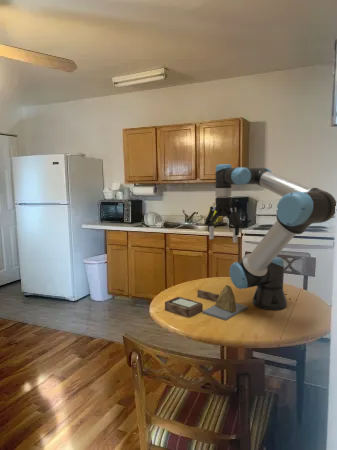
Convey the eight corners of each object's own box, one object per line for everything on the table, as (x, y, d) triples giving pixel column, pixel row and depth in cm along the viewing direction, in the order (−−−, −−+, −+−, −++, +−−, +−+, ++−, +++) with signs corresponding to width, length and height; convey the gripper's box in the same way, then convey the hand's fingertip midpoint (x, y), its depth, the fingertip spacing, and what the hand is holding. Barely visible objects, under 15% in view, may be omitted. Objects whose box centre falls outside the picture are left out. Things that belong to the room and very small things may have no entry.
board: (247, 308, 154) (247, 306, 154) (225, 320, 141) (225, 318, 140) (224, 302, 162) (224, 300, 162) (202, 313, 149) (202, 311, 148)
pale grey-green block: (198, 312, 151) (198, 303, 150) (189, 316, 146) (189, 307, 146) (180, 306, 157) (180, 298, 157) (171, 310, 153) (171, 301, 153)
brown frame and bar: (221, 302, 162) (221, 295, 161) (188, 318, 144) (188, 310, 143) (197, 295, 171) (197, 289, 171) (164, 309, 153) (163, 302, 153)
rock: (242, 307, 145) (238, 296, 155) (231, 293, 144) (227, 283, 153) (222, 321, 147) (219, 309, 157) (210, 307, 146) (208, 296, 155)
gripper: (250, 197, 156) (249, 242, 159) (206, 196, 173) (206, 236, 176) (242, 197, 151) (241, 244, 154) (197, 196, 168) (197, 238, 170)
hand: (223, 240), depth 165 cm, fingers open, 13 cm apart
